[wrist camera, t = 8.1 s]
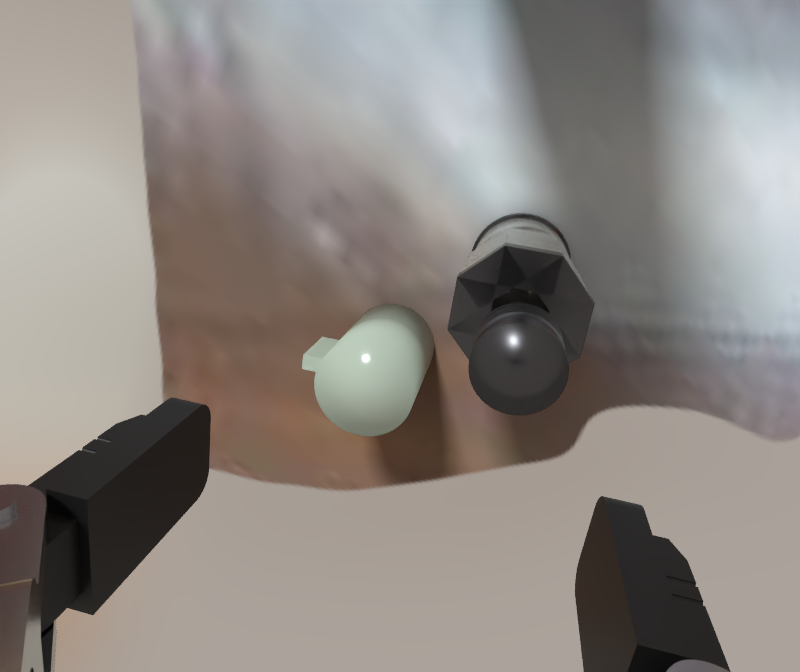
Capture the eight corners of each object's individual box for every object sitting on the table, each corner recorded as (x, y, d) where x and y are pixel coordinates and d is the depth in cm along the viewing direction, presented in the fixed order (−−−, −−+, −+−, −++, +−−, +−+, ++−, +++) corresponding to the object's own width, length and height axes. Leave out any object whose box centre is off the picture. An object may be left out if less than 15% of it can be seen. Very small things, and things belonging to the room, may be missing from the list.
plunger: (495, 250, 34) (478, 314, 21) (557, 262, 34) (579, 334, 21) (482, 309, 35) (460, 403, 22) (542, 321, 35) (555, 424, 22)
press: (481, 205, 41) (462, 234, 28) (580, 222, 40) (609, 261, 27) (458, 323, 44) (431, 400, 31) (550, 342, 43) (563, 429, 30)
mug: (337, 292, 45) (295, 326, 36) (440, 313, 44) (421, 353, 35) (328, 369, 47) (286, 418, 39) (426, 390, 46) (405, 446, 37)
